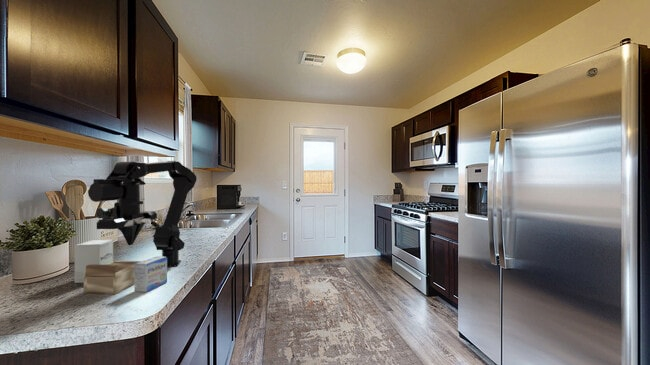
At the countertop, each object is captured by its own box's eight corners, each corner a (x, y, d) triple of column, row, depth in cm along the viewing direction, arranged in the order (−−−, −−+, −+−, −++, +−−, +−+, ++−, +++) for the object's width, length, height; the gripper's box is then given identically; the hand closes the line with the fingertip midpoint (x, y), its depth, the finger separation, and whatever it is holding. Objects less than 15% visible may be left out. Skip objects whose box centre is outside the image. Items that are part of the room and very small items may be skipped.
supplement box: (99, 281, 83) (99, 244, 83) (73, 283, 82) (73, 245, 82) (114, 273, 90) (114, 239, 90) (90, 275, 89) (90, 239, 89)
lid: (114, 265, 84) (114, 256, 84) (139, 265, 84) (139, 256, 84) (85, 276, 74) (85, 265, 74) (114, 276, 74) (114, 265, 74)
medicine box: (146, 292, 75) (146, 264, 75) (133, 291, 76) (133, 263, 76) (167, 282, 83) (167, 256, 83) (156, 281, 83) (156, 255, 83)
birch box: (115, 279, 85) (115, 261, 85) (144, 279, 85) (144, 261, 85) (83, 293, 74) (83, 272, 74) (116, 293, 74) (116, 273, 74)
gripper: (128, 196, 93) (129, 237, 94) (77, 201, 75) (79, 253, 75) (157, 196, 93) (158, 237, 93) (114, 201, 74) (115, 253, 75)
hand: (130, 244), depth 84 cm, fingers closed
